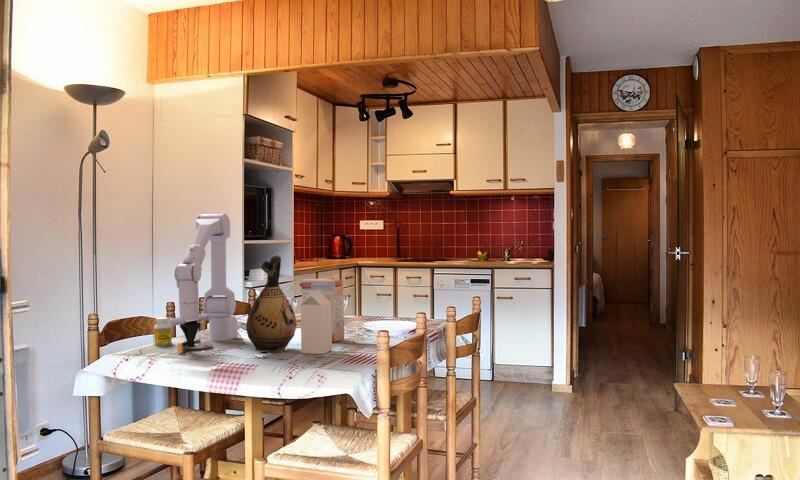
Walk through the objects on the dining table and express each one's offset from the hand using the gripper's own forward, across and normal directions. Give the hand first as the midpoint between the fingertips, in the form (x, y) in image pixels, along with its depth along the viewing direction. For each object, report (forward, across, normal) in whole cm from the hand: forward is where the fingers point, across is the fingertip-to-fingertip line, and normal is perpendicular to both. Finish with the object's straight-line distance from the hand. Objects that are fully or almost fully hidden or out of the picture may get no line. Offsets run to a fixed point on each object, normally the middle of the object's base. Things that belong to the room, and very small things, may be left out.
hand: (190, 346), depth 206 cm
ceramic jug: (+3, -19, +16) cm, 25 cm away
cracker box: (+3, -42, +16) cm, 45 cm away
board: (+3, -5, -5) cm, 8 cm away
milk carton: (+3, -24, +30) cm, 39 cm away
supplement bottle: (+3, -4, -21) cm, 21 cm away
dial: (+2, -3, -4) cm, 5 cm away
